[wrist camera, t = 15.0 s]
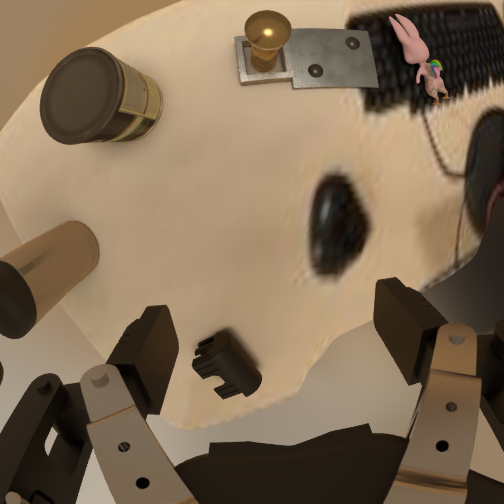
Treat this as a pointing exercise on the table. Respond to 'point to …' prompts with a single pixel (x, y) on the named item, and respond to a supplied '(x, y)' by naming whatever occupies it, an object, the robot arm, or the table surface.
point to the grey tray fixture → (319, 60)
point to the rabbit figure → (419, 57)
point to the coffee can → (98, 100)
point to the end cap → (226, 366)
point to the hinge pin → (266, 37)
